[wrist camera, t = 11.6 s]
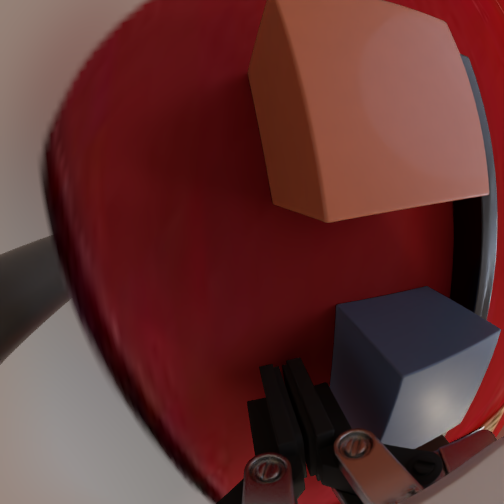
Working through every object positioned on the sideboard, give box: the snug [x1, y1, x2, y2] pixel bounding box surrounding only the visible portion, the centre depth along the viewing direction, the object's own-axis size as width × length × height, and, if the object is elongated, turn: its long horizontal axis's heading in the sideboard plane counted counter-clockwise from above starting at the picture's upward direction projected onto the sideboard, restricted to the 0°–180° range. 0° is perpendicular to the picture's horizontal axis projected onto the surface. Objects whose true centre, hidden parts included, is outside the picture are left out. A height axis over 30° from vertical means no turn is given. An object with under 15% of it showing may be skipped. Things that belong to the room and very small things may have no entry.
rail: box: [442, 54, 497, 436], centre depth 11 cm, size 2×26×2 cm, turn 10°
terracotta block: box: [248, 0, 489, 223], centre depth 6 cm, size 5×5×5 cm
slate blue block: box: [330, 286, 501, 449], centre depth 9 cm, size 5×5×5 cm
